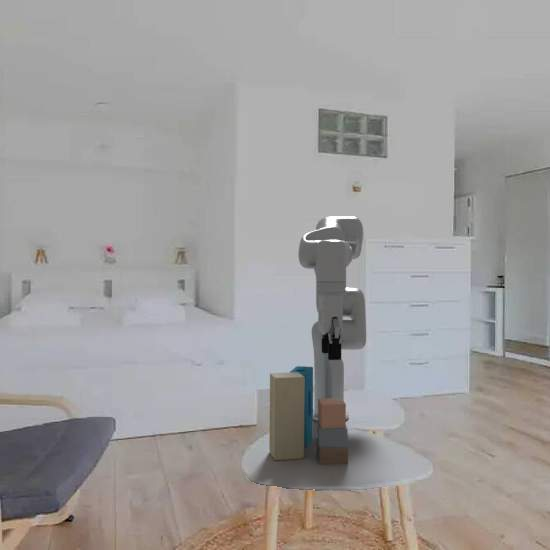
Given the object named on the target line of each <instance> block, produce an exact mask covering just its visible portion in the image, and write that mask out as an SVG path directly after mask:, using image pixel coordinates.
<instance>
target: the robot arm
mask: <svg viewBox="0 0 550 550" xmlns="http://www.w3.org/2000/svg"><path fill="white" fill-rule="evenodd" d="M363 240H364V227H363V223H362V221H361V219H360V218H359V217H356V216H326V217H323V218H321V219H320V220H319V221H318V222H317V224H316V226H315V230H313V231H310V232H307V233H305V234H304V235H302V237H301V238H300V242H299V245H298V246H299V247H298V262H299V264H300V265H301V267H303V268H304V269H310V270H311V269H313V271H314V273H315V306H316V311H317V315H318V316H317V317H318V318H317V319H318V320H317V321H316V322H314V323H313V325H312V327H311V340H312V347H313V348H312V349H313V361H314V363H313V364H314V366H313V421H316V422H318V399H322V398H341V399H342V400H343V401H344V402H345V396H344V395H345V365H344V361H343V360H342V350H346V351H347V350H351V351H353V350H354V351H355V350H362V349H363V348H365V346H366V344H367V318H366V316H367V314H366V299H365V295H364V294H365V293H363V291H362V290H361V289H360V288H358V287H347V267H348V266H349V265H350V263H352V262H353V260H356V259H358V258H359V257H360V256H361V254H362V248H363V247H362V246H363ZM345 317H346V318H349V319H344V318H345ZM348 419H349V413H348V412H347V411H346V421H347V420H348Z"/></svg>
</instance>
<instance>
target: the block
mask: <svg viewBox="0 0 550 550" xmlns="http://www.w3.org/2000/svg"><path fill="white" fill-rule="evenodd" d="M291 372H298V373H300V374H301V375H303V376H304V377H305V406H304V448H307V447H308V446H309V445H310V443H311V441H312V439H313V421H314V420H313V410H314V366H303V365H302V366H300V365H297V366H295V367H294V368H293V369H292V370H290V371H289V372H288V373H291Z"/></svg>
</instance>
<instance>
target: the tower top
mask: <svg viewBox="0 0 550 550" xmlns="http://www.w3.org/2000/svg"><path fill="white" fill-rule="evenodd" d="M317 438H318V443H319V447H347V446H348V427H347V425H346V428H328V429H322V428H321V426H320V424H319V422H318V421H317Z"/></svg>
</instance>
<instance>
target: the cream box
mask: <svg viewBox="0 0 550 550" xmlns="http://www.w3.org/2000/svg"><path fill="white" fill-rule="evenodd" d="M304 406H305V377H304V376H303V375H301V374H300V373H298V372H291V373H289V372H270V373H269V444H268V445H269V447H268V448H269V454H270V455H271V457H272V458H273V460H274V461H286V460H300V459H304V458H305V447H304Z"/></svg>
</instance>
